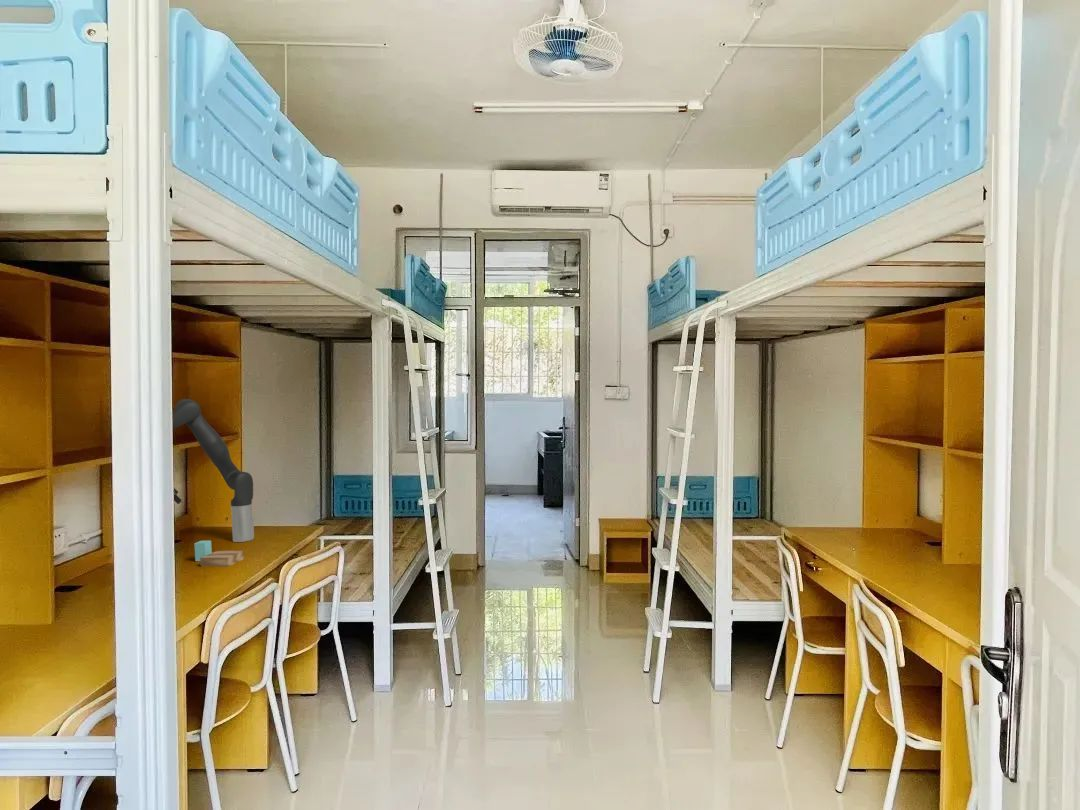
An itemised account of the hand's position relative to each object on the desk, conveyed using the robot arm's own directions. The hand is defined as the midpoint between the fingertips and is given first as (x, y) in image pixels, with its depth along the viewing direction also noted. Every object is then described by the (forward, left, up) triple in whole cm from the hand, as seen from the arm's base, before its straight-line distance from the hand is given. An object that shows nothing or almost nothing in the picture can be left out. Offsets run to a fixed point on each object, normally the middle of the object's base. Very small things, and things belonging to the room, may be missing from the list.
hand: (173, 504), depth 285 cm
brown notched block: (+4, +23, -25) cm, 34 cm away
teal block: (0, +12, -24) cm, 27 cm away
